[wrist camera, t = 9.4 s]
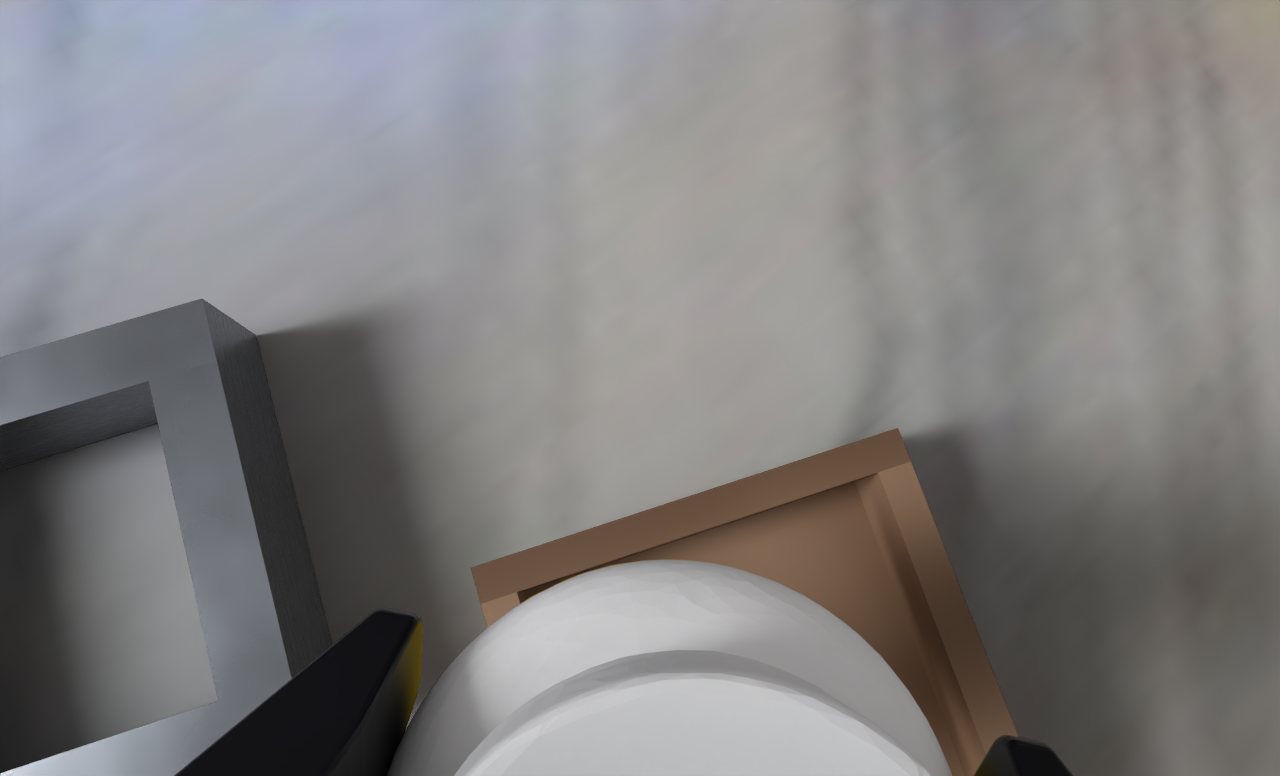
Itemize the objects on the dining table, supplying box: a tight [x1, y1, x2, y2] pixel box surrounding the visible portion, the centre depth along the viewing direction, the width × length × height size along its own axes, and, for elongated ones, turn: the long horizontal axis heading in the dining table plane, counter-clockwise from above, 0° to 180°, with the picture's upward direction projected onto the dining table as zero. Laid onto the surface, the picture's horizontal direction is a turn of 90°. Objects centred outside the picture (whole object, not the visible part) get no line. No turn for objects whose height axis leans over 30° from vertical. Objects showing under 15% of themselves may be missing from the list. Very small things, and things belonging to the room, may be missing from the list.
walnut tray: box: [471, 428, 1018, 776], centre depth 20 cm, size 10×10×2 cm
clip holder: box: [0, 299, 332, 776], centre depth 20 cm, size 10×10×3 cm
